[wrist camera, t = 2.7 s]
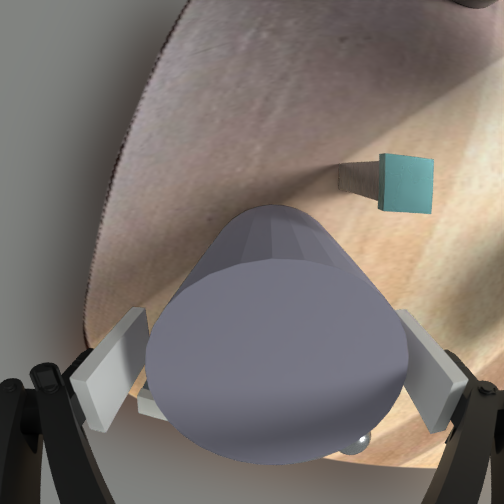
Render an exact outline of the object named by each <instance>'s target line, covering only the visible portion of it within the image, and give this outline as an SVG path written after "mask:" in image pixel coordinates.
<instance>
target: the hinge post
mask: <svg viewBox="0 0 504 504" xmlns="http://www.w3.org/2000/svg"><path fill="white" fill-rule="evenodd" d="M370 440H371V431H370V432H368V433H367V434H366V435H365V436H363V437H362V438H361V439H360V440H358V441H356V442H355V443H353V444H351V445H349V446H347V447H346V448H344V449H342V450H340V452H341V453H343V454H346V455H354V454H358V453H360V452H362V451H363V450H365V449H366V447H367V446H368V445H369V443H370Z"/></svg>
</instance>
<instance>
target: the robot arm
mask: <svg viewBox="0 0 504 504" xmlns="http://www.w3.org/2000/svg"><path fill="white" fill-rule="evenodd" d="M452 1H454V2H457V3H459V4H462V5H465V6H468V7H472V8H485V7H488V6H489V5H491V4H493V3H494V2H496V1H498V0H452ZM394 311H395V312H396V313H397V315H398V317H399V319H400V321H401V324H402V326H403V329H404V331H405V334H406V338H407V346H408V354H409V358H408V368H407V376H406V379H405V382H404V384H403V385H404V387H405V388H406V390H407V392H408V394H409V395H410V397H411V399H412V401H413V403H414V404H415V406H416V408H417V410H418V412H419V413H420V415H421V417H422V419H423V421H424V423H425V424H426V426H427V428H428V430H429V432H430V434H432V433H436V432H440V431H444V430H446V428H447V426H448V424H449V422H450V420H451V421H452V423H453V425H454V427H453V429H452V430H451V432H450V434H449V436H448V438H447V440H446V441H445V444H446V447H445V450H444V452H443V455H442V458H441V460H440V463H439V465H438V468H437V470H436V472H435V475H434V477H433V479H432V482H431V484H430V486H429V488H428V490H427V493H426V494H425V497H424V499H423V501H422V503H421V504H477V503H478V500H479V497H480V493H481V490H482V487H483V483H484V479H485V475H486V471H487V467H488V462H489V458H490V459H491V488H492V489H491V491H492V493H491V504H504V390H498V388H497V387H496V386H495V385H494V384H493V383H491V382H488V381H478V380H477V378H476V377H475V376H474V375H473V374H472V373H471V371H470V370H469V369H468V368H467V367H465V365H464V363H463V362H461V360H460V359H459V358H458V357H457V356H456V355H455V354H454V353H452V352H450V351H449V350H443V349H442V348H441V347H440V346H439V345H438V343H437V342H436V341H435V340H434V339H433V338H432V337H431V336H430V334H429V333H428V332H427V331H426V330H425V329H424V328H423V327H422V326H421V325H420V323H419V322H418V321H417V320H416V319H415V318H414V317H413V316H412V315H411V314H410V313H409V312H408V311H407V310H406V309H399V310H394ZM149 337H150V336H149V330H148V323H147V317H146V310H145V308H141V307H132V308H131V309H130V310H129V311H128V312H127V313H126V314H125V315H124V317H123V318H122V319H121V320H120V321H119V322H118V323H117V324H116V325H115V326H114V328H113V329H112V330H111V331H110V332H109V333H108V334H107V335H106V337H105V338H104V339H103V340H102V341H101V342H100V343H99V344H98V346H97V347H96V348H95V349H93V348H89V349H87V350H86V351H84V352H82V353H81V354H80V355H79V356H78V357H77V358H76V360H75V361H74V362H73V363H72V365H70V366H69V367H68V368H67V369H66V371H65V372H64V373H63V374H62V375H61V373H60V370H59V368H58V366H57V365H56V364H54V363H49V362H48V363H42V364H38V365H37V366H35V367H33V368H32V370H31V371H30V377H31V380H32V382H33V384H34V387H35V389H25V388H24V386H23V383H22V382H21V380H19V379H16V378H11V379H6V380H4V381H3V382H1V383H0V504H40V486H41V485H40V484H41V463H42V450H43V440H44V443H45V448H46V453H47V457H48V461H49V465H50V469H51V473H52V477H53V481H54V484H55V488H56V491H57V494H58V497H59V500H60V504H115V502H114V500H113V498H112V496H111V494H110V492H109V489H108V487H107V485H106V483H105V481H104V479H103V476H102V474H101V472H100V469H99V467H98V465H97V462H96V460H95V458H94V455H93V453H92V450H91V447H90V445H89V442H88V439H87V437H86V434H85V431H84V429H83V427H82V424H83V423H84V421H85V420H86V421H87V423H88V425H89V427H90V429H92V430H96V431H100V432H104V433H106V431H107V429H108V428H109V426H110V424H111V422H112V420H113V419H114V417H115V415H116V413H117V411H118V410H119V408H120V406H121V405H122V403H123V401H124V399H125V397H126V396H127V394H128V392H129V391H130V389H131V387H132V385H133V384H134V382H135V380H136V378H137V377H138V375H139V373H140V372H141V370H142V368H143V366H144V365H145V359H146V346H147V343H148V340H149Z"/></svg>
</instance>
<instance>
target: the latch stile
mask: <svg viewBox="0 0 504 504" xmlns="http://www.w3.org/2000/svg"><path fill="white" fill-rule="evenodd" d="M433 171H434V160H433V159H426V158H419V157H411V156H404V155H395V154H386V153H385V154H379V161H372V162H354V163H339V188H338V189H341V190H344V191H348V192H351V193H354V194H358V195H361V196H364V197H367V198H370V199H374V200H377V201H378V209H380V210H382V211H392V212H409V213H424V214H431V209H432V195H433Z"/></svg>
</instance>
